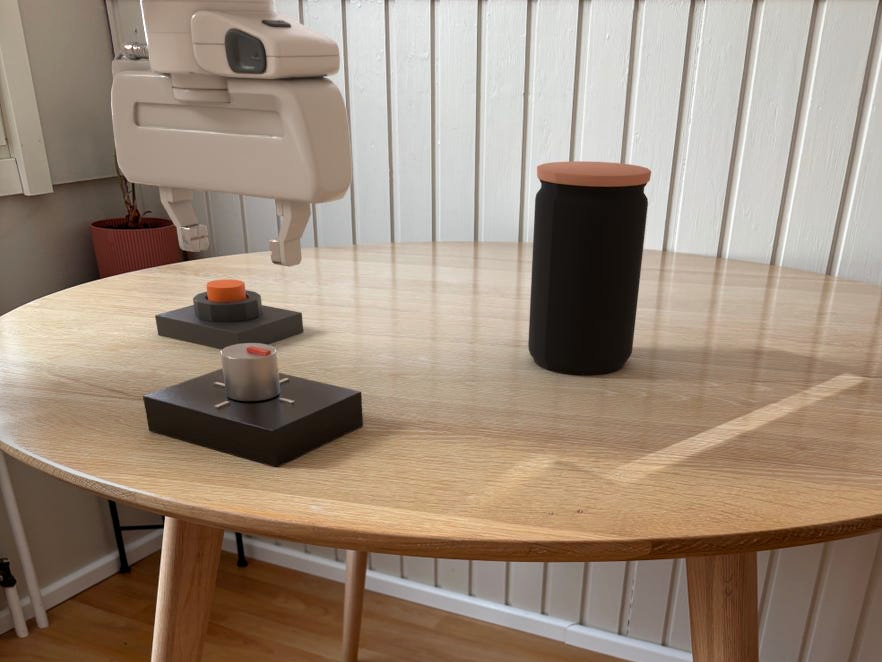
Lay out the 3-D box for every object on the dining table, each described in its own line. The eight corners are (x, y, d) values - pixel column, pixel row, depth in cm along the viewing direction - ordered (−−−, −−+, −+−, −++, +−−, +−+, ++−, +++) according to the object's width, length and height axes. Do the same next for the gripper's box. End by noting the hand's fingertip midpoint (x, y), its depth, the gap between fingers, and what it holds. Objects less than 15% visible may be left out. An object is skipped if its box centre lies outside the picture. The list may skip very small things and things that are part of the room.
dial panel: (148, 431, 78) (141, 393, 76) (241, 395, 86) (236, 361, 84) (276, 467, 72) (272, 428, 70) (363, 425, 80) (361, 389, 78)
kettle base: (158, 335, 102) (151, 297, 100) (223, 316, 109) (219, 280, 107) (240, 354, 97) (235, 314, 95) (303, 332, 104) (300, 295, 102)
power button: (200, 301, 100) (198, 284, 99) (227, 294, 103) (224, 277, 102) (228, 306, 99) (225, 289, 98) (254, 299, 101) (252, 282, 101)
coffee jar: (651, 363, 97) (674, 169, 87) (584, 384, 91) (601, 178, 81) (573, 341, 103) (586, 158, 94) (505, 359, 97) (512, 166, 87)
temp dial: (214, 395, 77) (208, 348, 75) (251, 381, 80) (246, 336, 78) (255, 405, 75) (249, 357, 73) (291, 390, 78) (287, 344, 76)
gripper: (73, 40, 66) (113, 248, 74) (296, 46, 58) (315, 281, 65) (142, 40, 71) (173, 236, 78) (359, 45, 62) (370, 265, 70)
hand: (239, 257), depth 72 cm, fingers open, 8 cm apart
